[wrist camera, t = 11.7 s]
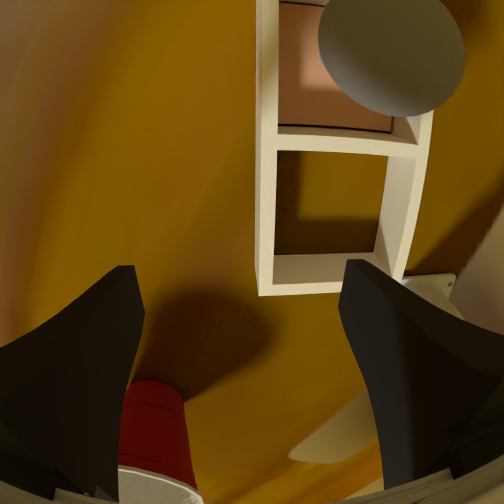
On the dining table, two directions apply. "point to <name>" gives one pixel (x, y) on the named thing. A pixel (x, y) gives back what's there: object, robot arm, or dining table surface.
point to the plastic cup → (155, 447)
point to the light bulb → (392, 53)
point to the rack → (325, 149)
